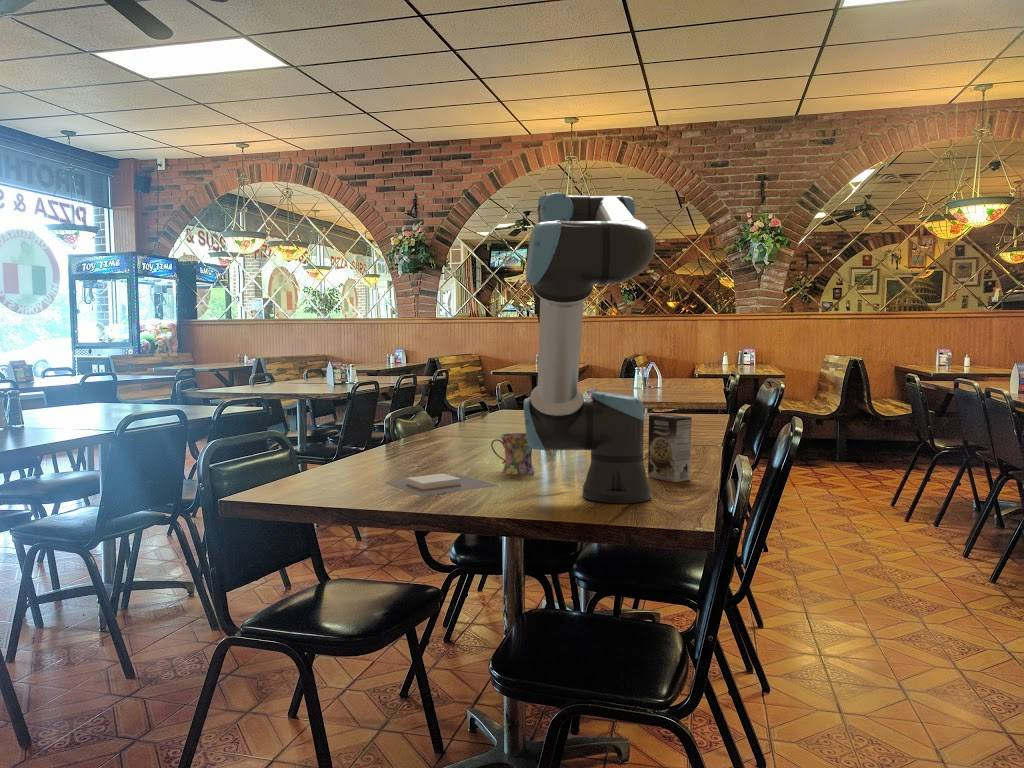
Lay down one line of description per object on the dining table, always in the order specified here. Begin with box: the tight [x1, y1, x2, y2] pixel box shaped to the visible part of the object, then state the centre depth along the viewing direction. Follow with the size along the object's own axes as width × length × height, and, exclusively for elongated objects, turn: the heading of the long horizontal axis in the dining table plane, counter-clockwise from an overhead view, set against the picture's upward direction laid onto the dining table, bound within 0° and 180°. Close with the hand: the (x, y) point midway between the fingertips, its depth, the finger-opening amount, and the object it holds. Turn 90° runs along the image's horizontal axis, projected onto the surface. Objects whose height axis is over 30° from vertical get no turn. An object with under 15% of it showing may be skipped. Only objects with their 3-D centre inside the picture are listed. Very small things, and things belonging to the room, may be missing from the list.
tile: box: [405, 473, 461, 490], centre depth 171 cm, size 8×2×10 cm
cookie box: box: [647, 413, 693, 483], centre depth 186 cm, size 9×6×16 cm
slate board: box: [386, 473, 498, 497], centre depth 172 cm, size 18×20×1 cm
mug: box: [490, 432, 536, 476], centre depth 189 cm, size 12×9×11 cm
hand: (552, 352), depth 185 cm, fingers closed
